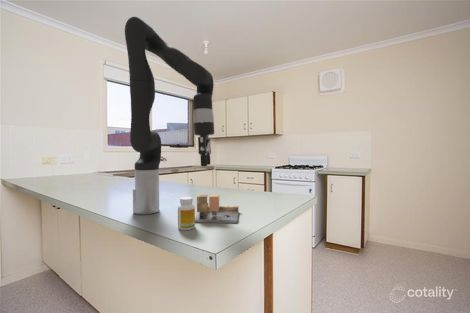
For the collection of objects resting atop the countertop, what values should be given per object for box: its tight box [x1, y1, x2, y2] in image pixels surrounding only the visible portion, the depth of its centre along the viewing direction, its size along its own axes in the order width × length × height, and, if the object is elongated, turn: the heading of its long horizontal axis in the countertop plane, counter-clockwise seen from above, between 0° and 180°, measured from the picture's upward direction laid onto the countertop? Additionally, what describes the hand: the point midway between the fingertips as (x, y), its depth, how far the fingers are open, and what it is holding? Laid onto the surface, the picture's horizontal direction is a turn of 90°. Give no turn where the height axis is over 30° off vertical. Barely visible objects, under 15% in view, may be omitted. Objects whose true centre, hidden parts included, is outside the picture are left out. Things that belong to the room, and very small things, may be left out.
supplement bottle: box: [177, 196, 196, 231], centre depth 76 cm, size 5×5×10 cm
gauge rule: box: [196, 194, 239, 216], centre depth 89 cm, size 15×11×8 cm
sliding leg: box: [208, 194, 220, 215], centre depth 86 cm, size 3×4×7 cm
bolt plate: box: [195, 211, 239, 224], centre depth 87 cm, size 15×11×1 cm
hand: (206, 165), depth 88 cm, fingers open, 8 cm apart
